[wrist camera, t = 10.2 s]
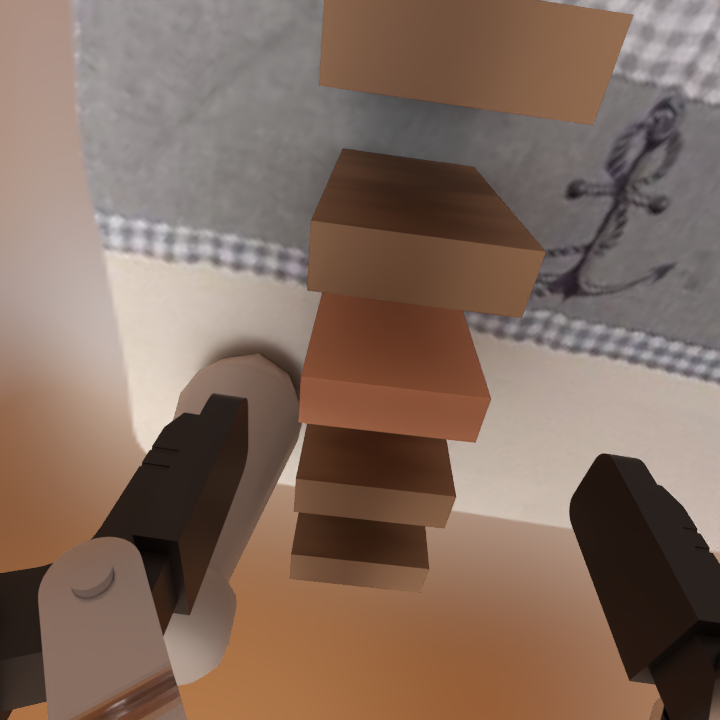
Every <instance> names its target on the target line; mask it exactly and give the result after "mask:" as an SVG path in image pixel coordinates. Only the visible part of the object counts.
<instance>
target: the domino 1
mask: <svg viewBox="0 0 720 720" xmlns="http://www.w3.org/2000/svg"><path fill="white" fill-rule="evenodd" d="M632 18H633V15H631V14H624V13H618V12H611V11H605V10H598V9H591V8H585V7H578V6H572V5H565V4H559V3H552V2H546V1H539V0H324V13H323V30H322V46H321V63H320V79H319V86H326V87H333V88H340V89H347V90H354V91H361V92H368V93H374V94H381V95H388V96H395V97H402V98H409V99H416V100H423V101H430V102H437V103H444V104H451V105H457V106H464V107H471V108H478V109H485V110H492V111H499V112H506V113H513V114H520V115H527V116H534V117H541V118H547V119H554V120H561V121H568V122H575V123H582V124H589V125H593V123H594V121H595V118H596V115H597V113H598V110H599V107H600V104H601V102H602V99H603V96H604V94H605V91H606V88H607V85H608V83H609V80H610V77H611V75H612V72H613V69H614V66H615V64H616V61H617V58H618V56H619V53H620V50H621V47H622V45H623V42H624V39H625V37H626V34H627V31H628V28H629V26H630V23H631V20H632Z"/></svg>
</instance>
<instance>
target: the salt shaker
mask: <svg viewBox="0 0 720 720" xmlns="http://www.w3.org/2000/svg"><path fill="white" fill-rule="evenodd" d="M213 393H217V394H224V395H230V396H237V397H243V398H247V400H248V455H247V461H246V465H245V469H244V472H243V475H242V478H241V481H240V483H239V486H238V489H237V491H236V494H235V496H234V499H233V502H232V504H231V507H230V510H229V512H228V515H227V518H226V520H225V523H224V526H223V528H222V531H221V534H220V536H219V539H218V542H217V544H216V547H215V550H214V552H213V555H212V558H211V560H210V563H209V566H208V568H207V571H206V574H205V576H204V579H203V582H202V584H201V587H200V590H199V592H198V595H197V598H196V600H195V603H194V606H193V608H192V611H191V614H190V615H183V614H176V613H173V614H172V617H171V619H170V622H169V624H168V627H167V629H166V632H165V634H164V637H163V638H164V641H165V645H166V649H167V652H168V656H169V659H170V663H171V667H172V670H173V674H174V677H175V680H176V683H177V685H184V684H190V683H192V682H194V681H196V680H198V679H199V678H201V677H203V676H205V675H206V674H207V673H209V672H210V671H212V670H213V669H215V668H216V667H217V666H219V664H220V662H221V660H222V657H223V655H224V653H225V650H226V648H227V646H228V644H229V639H230V635H231V630H232V626H233V620H234V616H235V611H236V595H235V593H234V591H233V589H232V588H231V586H230V584H229V583H228V582H229V580H230V578H231V576H232V573H233V572H234V569H235V568H236V565H237V563H238V561H239V559H240V557H241V555H242V553H243V551H244V549H245V547H246V545H247V543H248V541H249V539H250V537H251V534H252V533H253V530H254V529H255V527H256V525H257V522H258V520H259V518H260V516H261V514H262V512H263V510H264V508H265V506H266V504H267V502H268V500H269V498H270V496H271V494H272V492H273V490H274V488H275V486H276V484H277V482H278V479H279V477H280V475H281V473H282V471H283V469H284V467H285V465H286V463H287V461H288V459H289V457H290V455H291V453H292V451H293V449H294V447H295V445H296V443H297V440H298V436H299V432H300V429H301V425H302V423H299V402H298V398H297V395H296V392H295V390H294V387H293V384H292V382H291V379H290V376H289V374H288V373H287V372H285V371H284V370H282V369H281V368H280V367H278V366H277V365H275V364H274V363H272V362H271V361H269V360H268V359H266V358H265V357H263V356H262V355H261V354H259V353H258V354H251V355H243V356H236V357H228V358H223V359H221V360H219V361H217V362H215V363H213V364H211V365H209V366H207V367H205V368H203V369H201V370H200V371H199V372H198V373H197V374H196V375H195V376H194V377H193V379H192V380H191V381H190V382H189V383H188V385H187V386H186V387H185V388H184V390H183V391H182V392H181V393H180V397H179V401H178V404H177V408H176V412H175V416H174V419H173V420H175V419H176V418H177V417H179V416H180V415H181V414H183V413H184V412H185V413H192V414H198V415H200V413H201V411H202V409H203V407H204V406H205V404H206V402H207V400H208V399H209V397H210V396H211V394H213Z"/></svg>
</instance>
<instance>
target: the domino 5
mask: <svg viewBox="0 0 720 720" xmlns="http://www.w3.org/2000/svg"><path fill="white" fill-rule="evenodd" d="M428 571H429V562H428V552H427V541H426V531H425V526H418V525H409V524H400V523H391V522H382V521H373V520H364V519H355V518H346V517H337V516H328V515H319V514H310V513H301V512H299V514H298V520H297V525H296V530H295V536H294V541H293V548H292V553H291V565H290V579H296V580H305V581H314V582H325V583H333V584H343V585H352V586H361V587H371V588H380V589H390V590H399V591H408V592H418V593H420V592H421V590H422V587H423V585H424V582H425V579H426V576H427V574H428Z"/></svg>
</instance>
